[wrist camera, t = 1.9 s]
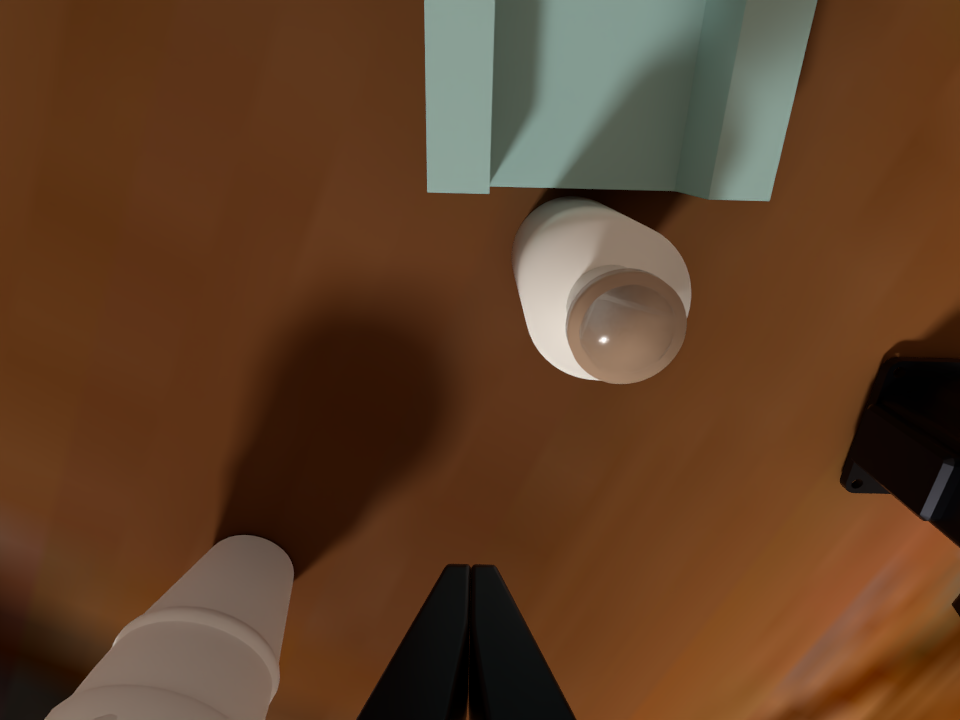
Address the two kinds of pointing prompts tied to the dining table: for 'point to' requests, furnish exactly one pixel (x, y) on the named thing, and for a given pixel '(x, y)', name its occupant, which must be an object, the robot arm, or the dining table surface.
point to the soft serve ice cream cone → (198, 644)
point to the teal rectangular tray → (611, 94)
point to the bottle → (600, 291)
